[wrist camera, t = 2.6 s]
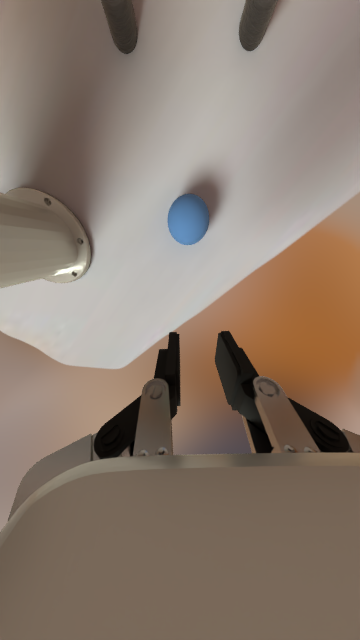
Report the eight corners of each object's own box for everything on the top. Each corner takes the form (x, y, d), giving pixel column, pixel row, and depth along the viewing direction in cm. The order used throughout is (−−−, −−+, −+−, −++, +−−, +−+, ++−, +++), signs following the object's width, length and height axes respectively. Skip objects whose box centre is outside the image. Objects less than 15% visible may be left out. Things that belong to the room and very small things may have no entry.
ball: (170, 245, 22) (167, 245, 18) (167, 201, 20) (164, 186, 15) (204, 244, 22) (211, 244, 18) (206, 200, 20) (215, 185, 15)
